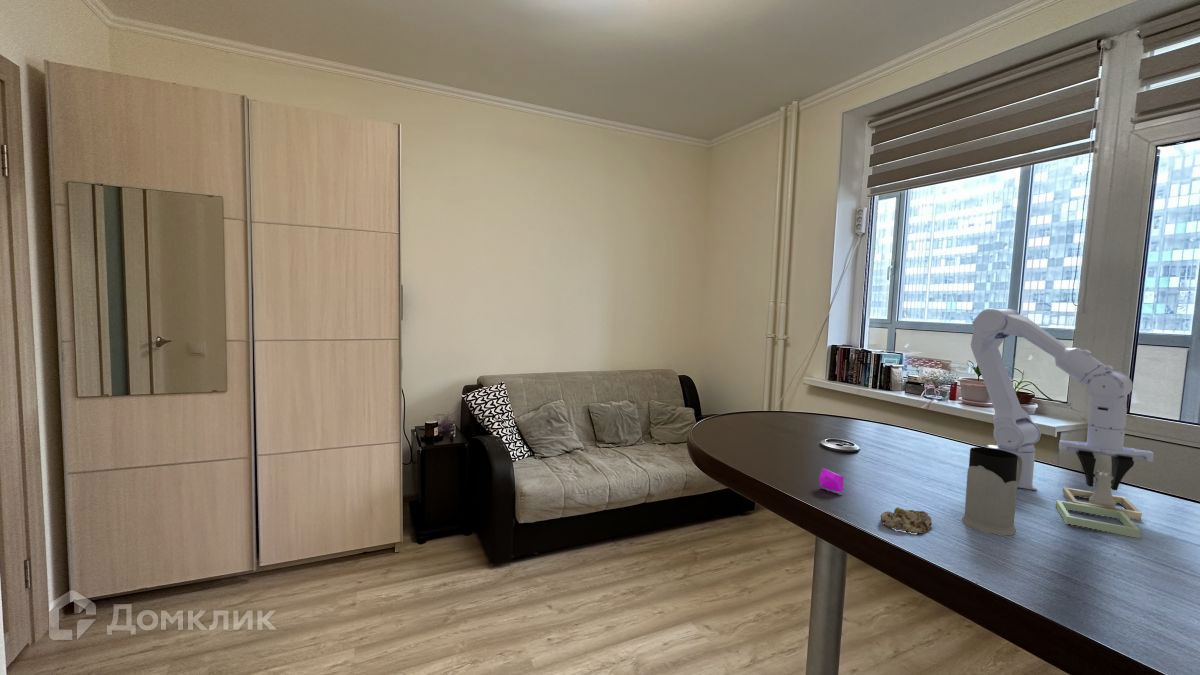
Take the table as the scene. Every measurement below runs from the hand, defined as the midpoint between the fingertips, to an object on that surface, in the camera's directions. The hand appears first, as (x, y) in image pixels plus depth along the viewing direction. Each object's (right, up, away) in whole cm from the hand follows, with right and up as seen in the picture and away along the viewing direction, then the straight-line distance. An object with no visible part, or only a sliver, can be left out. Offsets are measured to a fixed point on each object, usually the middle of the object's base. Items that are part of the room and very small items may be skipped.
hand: (1101, 487), depth 109 cm
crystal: (-56, -4, +8) cm, 57 cm away
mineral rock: (-49, -5, -10) cm, 51 cm away
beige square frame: (0, -4, 0) cm, 4 cm away
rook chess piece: (0, -5, -1) cm, 5 cm away
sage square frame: (-9, -5, -8) cm, 13 cm away
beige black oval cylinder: (-30, -5, -9) cm, 32 cm away
